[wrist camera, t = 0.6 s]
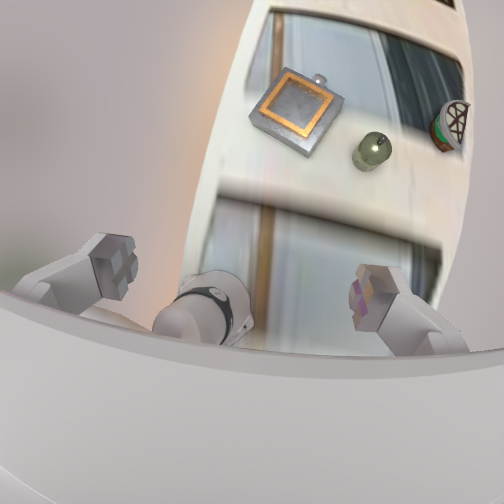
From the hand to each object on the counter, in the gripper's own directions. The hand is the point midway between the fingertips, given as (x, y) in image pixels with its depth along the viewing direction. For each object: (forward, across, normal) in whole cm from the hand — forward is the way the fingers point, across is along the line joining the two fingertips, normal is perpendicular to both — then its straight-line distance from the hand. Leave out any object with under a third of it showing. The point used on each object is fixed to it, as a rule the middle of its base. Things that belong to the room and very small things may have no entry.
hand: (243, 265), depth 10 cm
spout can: (+50, +21, -6) cm, 55 cm away
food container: (+53, +38, +5) cm, 66 cm away
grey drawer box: (+56, +6, +1) cm, 56 cm away
